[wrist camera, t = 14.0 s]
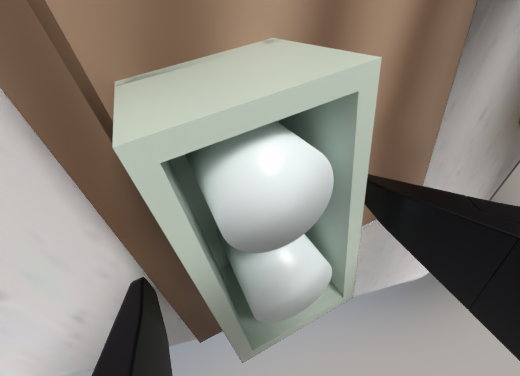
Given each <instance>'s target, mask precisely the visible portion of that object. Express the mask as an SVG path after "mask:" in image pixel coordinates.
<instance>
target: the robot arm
mask: <svg viewBox="0 0 520 376" xmlns="http://www.w3.org/2000/svg"><path fill="white" fill-rule="evenodd" d="M364 204H365V205H366V207H367V208H368V209H369V210H370V211H371V213H372V214H373V215H374V216H375V217H376V219H377V220H378V221H379V222H380V223H381V224H382V225H383V226H384V227H385V229H387V230H388V231H389V232H390V233H391V234H392V235H393V236H394V237H395V238H396V239H397V240H398V241H399V242H400V243H401V244H402V245H403V246H404V247H405V248H406V249H407V250H408V251H409V252H410V253H411V254H412V255H413V256H414V257H415V258H416V259H417V260H418V261H419V262H420V263H421V264H422V265H423V266H424V267H425V268H426V269H427V270H428V271H429V272H430V273H431V274H432V275H433V276H434V277H435V278H436V279H437V280H438V281H439V282H440V283H441V284H442V285H443V286H445V287H446V289H447V290H448V291H449V292H451V293H452V294H453V295H454V296H455V297H456V298H457V299H458V300H459V301H460V302H461V303H462V304H463V305H464V306H465V307H466V308H467V309H468V310H469V311H470V312H471V313H472V314H473V315H474V316H475V317H476V318H477V319H478V320H479V321H480V322H481V323H482V324H483V325H484V326H485V327H486V328H487V329H488V330H489V331H490V332H491V333H492V334H493V335H494V336H495V337H496V338H497V339H498V340H499V341H500V342H501V343H502V344H503V345H504V346H505V347H506V348H507V349H508V350H509V351H510V352H511V353H512V354H513V355H514V356H516V358H517V359H518V360H519V361H520V206H513V205H508V204H503V203H497V202H492V201H487V200H483V199H478V198H474V197H469V196H467V197H466V196H464V195H460V194H456V193H451V192H447V191H442V190H438V189H433V188H429V187H424V186H420V185H415V184H411V183H406V182H402V181H397V180H393V179H389V178H384V177H380V176H375V175H371V174H368V176H367V184H366V193H365V201H364ZM92 376H172V369H171V362H170V354H169V345H168V339H167V333H166V329H165V325H164V321H163V317H162V314H161V310H160V306H159V302H158V298H157V294H156V292H155V290H154V288H153V287H152V286H151V285H150V283H149V282H148V281H147V280H146V278H144V277H142V278H140V279H137V280H135V281H133V282H132V283H131V284H130V286H129V289H128V291H127V293H126V296H125V298H124V300H123V303H122V305H121V308H120V310H119V312H118V315H117V317H116V319H115V322H114V324H113V327H112V329H111V331H110V334H109V336H108V338H107V341H106V343H105V345H104V348H103V350H102V353H101V355H100V357H99V360H98V362H97V364H96V367H95V369H94V372H93V374H92Z"/></svg>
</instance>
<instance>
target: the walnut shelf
mask: <svg viewBox="0 0 520 376" xmlns="http://www.w3.org/2000/svg"><path fill="white" fill-rule="evenodd" d="M476 4H477V0H0V88H1V89H2V90H3V91H4V93H5V94H6V95H7V97H8V98H9V99H10V100H11V102H12V103H13V104H14V106H15V107H16V108H17V109H18V111H19V112H20V113H21V114H22V116H23V117H24V118H25V120H26V121H27V122H28V123H29V125H30V126H31V127H32V129H33V130H34V131H35V132H36V134H37V135H38V136H39V137H40V139H41V140H42V141H43V143H44V144H45V145H46V146H47V148H48V149H49V150H50V152H51V153H52V154H53V155H54V157H55V158H56V159H57V160H58V162H59V163H60V164H61V166H62V167H63V168H64V169H65V171H66V172H67V173H68V174H69V176H70V177H71V178H72V180H73V181H74V182H75V183H76V185H77V186H78V187H79V189H80V190H81V191H82V192H83V194H84V195H85V196H86V197H87V199H88V200H89V201H90V203H91V204H92V205H93V206H94V208H95V209H96V210H97V212H98V213H99V214H100V215H101V217H102V218H103V219H104V220H105V222H106V223H107V224H108V226H109V227H110V228H111V229H112V231H113V232H114V233H115V235H116V236H117V237H118V238H119V240H120V241H121V242H122V243H123V245H124V246H125V247H126V249H127V250H128V251H129V252H130V254H131V255H132V256H133V257H134V259H135V260H136V261H137V263H138V264H139V265H140V266H141V268H142V269H143V270H144V272H145V273H146V274H147V275H148V277H149V278H150V279H151V280H152V282H153V283H154V284H155V286H156V287H157V288H158V289H159V291H160V292H161V293H162V295H163V296H164V297H165V298H166V300H167V301H168V302H169V303H170V305H171V306H172V307H173V309H174V310H175V311H176V312H177V314H178V315H179V316H180V318H181V319H182V320H183V321H184V323H185V324H186V325H187V326H188V328H189V329H190V330H191V332H192V333H193V334H194V335H195V337H196V338H197V339H198V340H199V342H200V343H201V342H203V341H205V340H206V339H208V338H210V337H212V336H214V335H216V334H217V333H219V332H221V331H223V330H222V328H221V327H220V325H219V323H218V322H217V320H216V318H215V317H214V315H213V313H212V312H211V310H210V309H209V307H208V305H207V304H206V302H205V300H204V299H203V297H202V295H201V294H200V292H199V290H198V289H197V287H196V285H195V284H194V282H193V280H192V279H191V277H190V275H189V274H188V272H187V270H186V269H185V267H184V265H183V264H182V262H181V260H180V259H179V257H178V255H177V254H176V252H175V250H174V249H173V247H172V245H171V244H170V242H169V240H168V239H167V237H166V235H165V234H164V232H163V231H162V229H161V227H160V226H159V224H158V222H157V221H156V219H155V217H154V216H153V214H152V212H151V211H150V209H149V207H148V206H147V204H146V202H145V201H144V199H143V197H142V196H141V194H140V192H139V191H138V189H137V187H136V186H135V184H134V182H133V181H132V179H131V177H130V176H129V174H128V172H127V171H126V169H125V167H124V166H123V164H122V162H121V161H120V159H119V157H118V156H117V154H116V153H115V151H114V149H113V148H112V143H113V116H114V89H115V81H119V80H123V79H126V78H130V77H133V76H137V75H141V74H144V73H148V72H151V71H155V70H159V69H162V68H166V67H169V66H173V65H177V64H180V63H184V62H187V61H191V60H195V59H198V58H202V57H206V56H209V55H213V54H216V53H220V52H224V51H227V50H231V49H234V48H238V47H242V46H245V45H249V44H252V43H256V42H260V41H263V40H267V39H270V38H277V39H283V40H288V41H294V42H299V43H305V44H311V45H316V46H322V47H327V48H333V49H339V50H344V51H350V52H355V53H361V54H367V55H372V56H378V57H382V59H381V67H380V76H379V84H378V93H377V101H376V109H375V118H374V126H373V134H372V143H371V151H370V159H369V168H368V174H371V175H375V176H380V177H384V178H389V179H393V180H397V181H402V182H406V183H411V184H415V185H420V186H423V183H424V179H425V176H426V172H427V169H428V166H429V162H430V159H431V156H432V152H433V149H434V145H435V142H436V139H437V135H438V132H439V128H440V125H441V122H442V118H443V115H444V112H445V108H446V105H447V101H448V98H449V95H450V91H451V88H452V85H453V81H454V78H455V74H456V71H457V68H458V64H459V61H460V58H461V54H462V51H463V47H464V44H465V41H466V37H467V34H468V31H469V27H470V24H471V20H472V17H473V14H474V10H475V7H476ZM375 219H376V217H375V216H374V215H373V214H372V213H371V211H370V210H369V209H368V208H367V207H366V205H365V204H364V210H363V218H362V226H364V225H366V224H368V223H370V222H371V221H373V220H375ZM362 226H361V227H362Z"/></svg>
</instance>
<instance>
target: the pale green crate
mask: <svg viewBox="0 0 520 376" xmlns="http://www.w3.org/2000/svg"><path fill="white" fill-rule="evenodd" d="M381 59H382V57H378V56H372V55H367V54H361V53H355V52H350V51H344V50H339V49H333V48H327V47H322V46H316V45H311V44H305V43H299V42H294V41H288V40H283V39H277V38H270V39H267V40H263V41H260V42H256V43H252V44H249V45H245V46H242V47H238V48H234V49H231V50H227V51H224V52H220V53H216V54H213V55H209V56H206V57H202V58H198V59H195V60H191V61H187V62H184V63H180V64H177V65H173V66H169V67H166V68H162V69H159V70H155V71H151V72H148V73H144V74H141V75H137V76H133V77H130V78H126V79H123V80H119V81H115V89H114V116H113V143H112V148H113V149H114V151H115V153H116V154H117V156H118V157H119V159H120V161H121V162H122V164H123V166H124V167H125V169H126V171H127V172H128V174H129V176H130V177H131V179H132V181H133V182H134V184H135V186H136V187H137V189H138V191H139V192H140V194H141V196H142V197H143V199H144V201H145V202H146V204H147V206H148V207H149V209H150V211H151V212H152V214H153V216H154V217H155V219H156V221H157V222H158V224H159V226H160V227H161V229H162V231H163V232H164V234H165V235H166V237H167V239H168V240H169V242H170V244H171V245H172V247H173V249H174V250H175V252H176V254H177V255H178V257H179V259H180V260H181V262H182V264H183V265H184V267H185V269H186V270H187V272H188V274H189V275H190V277H191V279H192V280H193V282H194V284H195V285H196V287H197V289H198V290H199V292H200V294H201V295H202V297H203V299H204V300H205V302H206V304H207V305H208V307H209V309H210V310H211V312H212V313H213V315H214V317H215V318H216V320H217V322H218V323H219V325H220V327H221V328H222V330H223V332H224V333H225V335H226V337H227V338H228V340H229V342H230V343H231V345H232V347H233V348H234V350H235V352H236V353H237V355H238V356H239V358H240V360H241V361H242V363H243V362H245V361H247V360H249V359H250V358H252V357H253V356H255V355H257V354H259V353H261V352H262V351H264V350H265V349H267V348H269V347H271V346H272V345H274V344H276V343H277V342H279V341H281V340H282V339H284V338H286V337H287V336H289V335H291V334H292V333H294V332H296V331H298V330H299V329H301V328H302V327H304V326H306V325H308V324H309V323H311V322H313V321H315V320H316V319H318V318H320V317H321V316H323V315H325V314H326V313H328V312H330V311H331V310H333V309H335V308H336V307H338V306H340V305H342V304H343V303H345V302H347V301H348V300H350V299H352V298H353V293H354V285H355V276H356V268H357V260H358V251H359V243H360V235H361V226H362V218H363V210H364V201H365V193H366V184H367V176H368V168H369V159H370V151H371V143H372V134H373V126H374V118H375V109H376V101H377V93H378V84H379V76H380V67H381Z"/></svg>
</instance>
